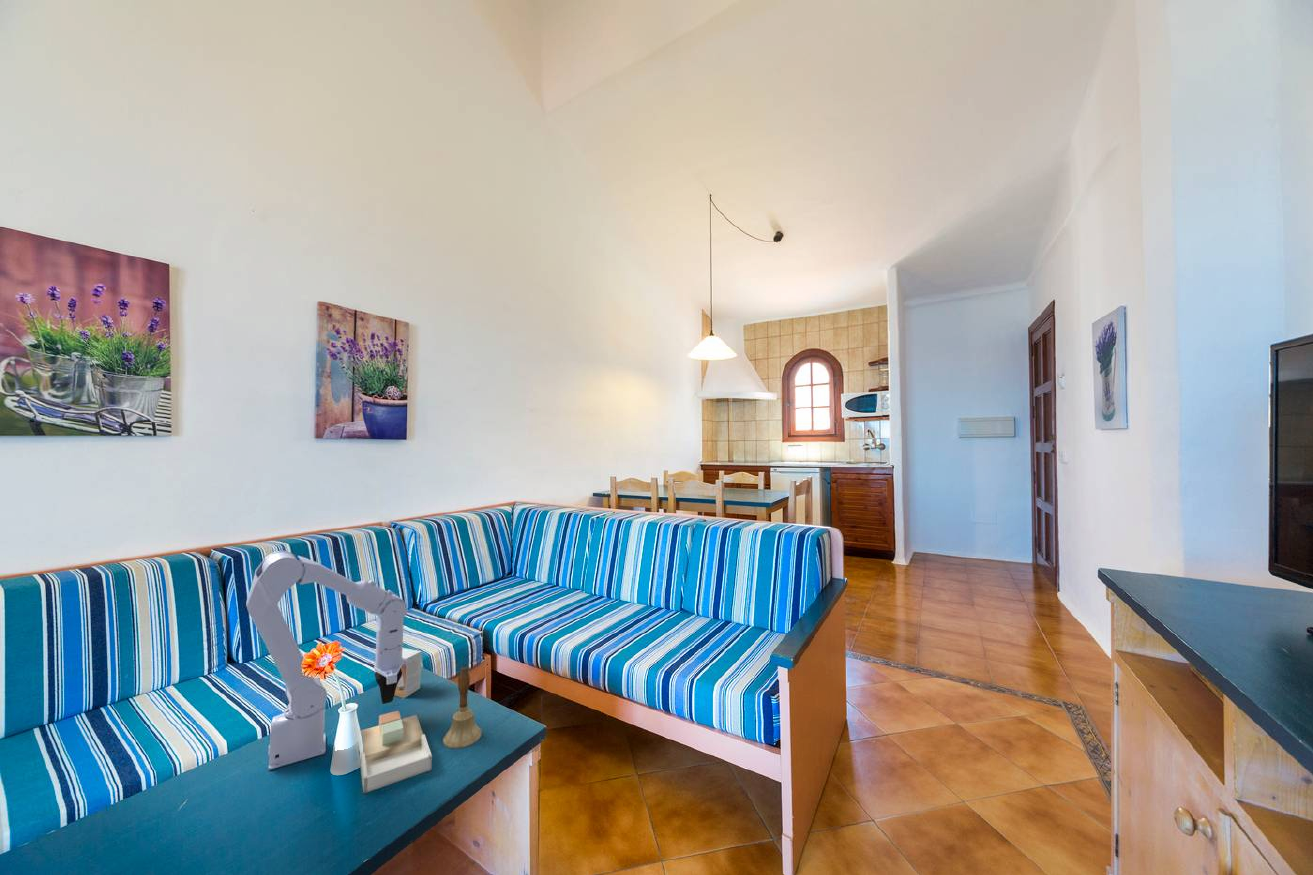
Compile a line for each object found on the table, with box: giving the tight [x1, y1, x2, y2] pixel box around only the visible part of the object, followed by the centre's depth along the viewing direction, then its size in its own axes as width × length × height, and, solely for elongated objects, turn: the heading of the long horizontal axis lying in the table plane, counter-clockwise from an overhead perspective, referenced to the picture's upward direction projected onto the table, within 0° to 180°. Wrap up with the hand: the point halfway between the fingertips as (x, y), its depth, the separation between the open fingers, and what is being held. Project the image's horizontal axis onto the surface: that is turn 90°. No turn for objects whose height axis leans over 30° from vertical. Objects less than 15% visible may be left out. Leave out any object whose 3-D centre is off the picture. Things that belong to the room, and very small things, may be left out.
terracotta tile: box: [378, 710, 402, 735], centre depth 106 cm, size 4×4×2 cm
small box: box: [394, 647, 423, 699], centre depth 126 cm, size 8×6×10 cm
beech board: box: [360, 714, 424, 763], centre depth 103 cm, size 12×11×2 cm
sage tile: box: [381, 720, 404, 746], centre depth 102 cm, size 4×4×2 cm
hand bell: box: [442, 666, 483, 749], centre depth 106 cm, size 8×8×16 cm
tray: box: [360, 733, 433, 794], centre depth 95 cm, size 12×9×3 cm
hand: (387, 701), depth 112 cm, fingers closed
